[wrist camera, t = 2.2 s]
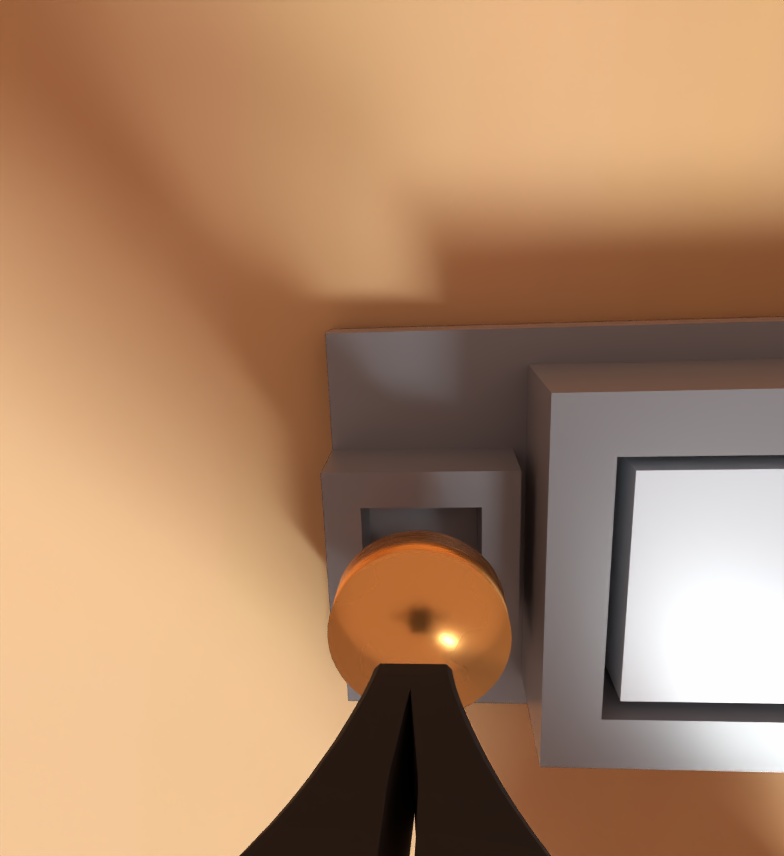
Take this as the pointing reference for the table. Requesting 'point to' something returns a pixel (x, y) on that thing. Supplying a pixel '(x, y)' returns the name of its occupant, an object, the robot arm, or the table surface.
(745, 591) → the cartridge
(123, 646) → the table surface
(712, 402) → the housing
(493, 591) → the plunger
